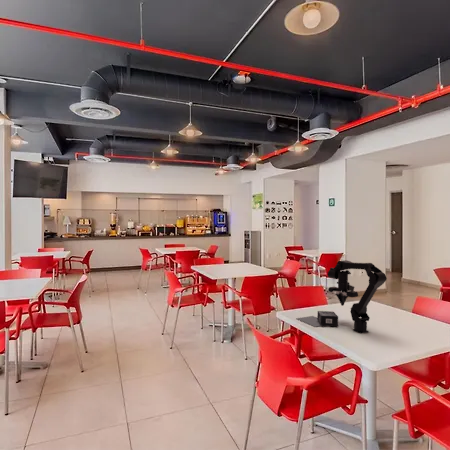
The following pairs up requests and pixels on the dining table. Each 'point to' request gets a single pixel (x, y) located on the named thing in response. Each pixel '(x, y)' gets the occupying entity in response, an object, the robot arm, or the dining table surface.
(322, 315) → the small box
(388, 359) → the dining table surface
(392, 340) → the dining table surface
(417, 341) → the dining table surface
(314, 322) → the mat
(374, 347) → the dining table surface
